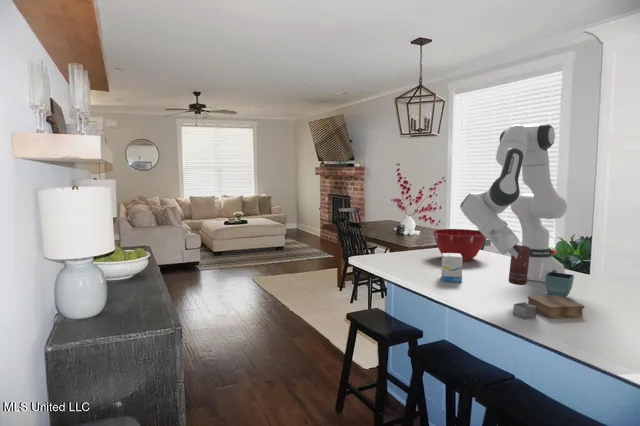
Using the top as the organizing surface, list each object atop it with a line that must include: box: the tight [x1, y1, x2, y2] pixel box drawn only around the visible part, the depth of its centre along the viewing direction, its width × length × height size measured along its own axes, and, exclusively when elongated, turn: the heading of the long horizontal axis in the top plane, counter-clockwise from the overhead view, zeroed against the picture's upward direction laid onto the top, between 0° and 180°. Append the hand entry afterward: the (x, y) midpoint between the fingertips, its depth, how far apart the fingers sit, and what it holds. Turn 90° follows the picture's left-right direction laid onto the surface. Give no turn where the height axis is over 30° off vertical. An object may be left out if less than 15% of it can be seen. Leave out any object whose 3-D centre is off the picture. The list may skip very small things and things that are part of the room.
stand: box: [527, 294, 585, 319], centre depth 148 cm, size 13×13×4 cm
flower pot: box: [544, 272, 575, 298], centre depth 165 cm, size 9×9×9 cm
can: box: [508, 244, 530, 286], centre depth 156 cm, size 6×6×14 cm
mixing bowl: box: [432, 228, 486, 262], centre depth 237 cm, size 28×28×16 cm
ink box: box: [440, 253, 464, 283], centre depth 191 cm, size 9×8×12 cm
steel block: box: [512, 301, 537, 321], centre depth 144 cm, size 5×5×4 cm
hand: (521, 257), depth 155 cm, fingers closed on can, 4 cm apart
